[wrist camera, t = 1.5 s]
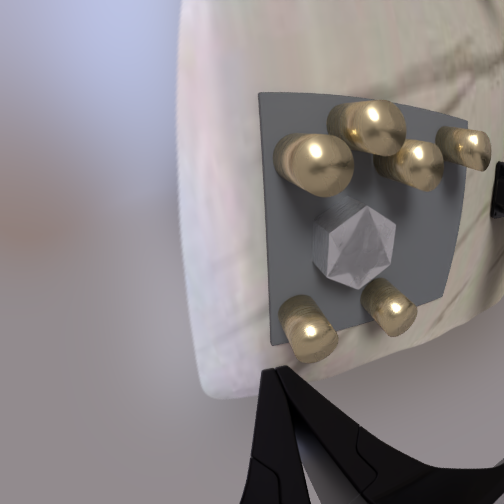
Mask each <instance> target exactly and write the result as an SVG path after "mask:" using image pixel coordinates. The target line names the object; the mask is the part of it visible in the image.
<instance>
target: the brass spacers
mask: <svg viewBox="0 0 504 504" xmlns="http://www.w3.org/2000/svg"><path fill="white" fill-rule="evenodd" d="M326 127H327V132H328V135H327V134H307V133H292V134H289V135H286V136H284V137H283V138H282V139H281V140H280V141H279V142H278V143H277V144H276V146H275V148H274V151H273V164H274V167H275V169H276V171H277V173H278V174H279V175H280V176H281V177H282V178H284V179H285V180H287V181H289V182H291V183H293V184H295V185H297V186H298V187H300V188H302V189H304V190H306V191H308V192H309V193H311V194H313V195H315V196H319V197H331V196H334V195H337V194H339V193H340V192H342V191H343V190H344V189H345V188H346V187H347V185H348V184H349V182H350V181H351V178H352V176H353V172H354V159H353V155H352V152H351V150H355V151H361V152H366V153H371V154H373V163H374V167H375V169H376V171H377V172H378V173H379V174H380V175H381V176H382V177H384V178H387V179H390V180H393V181H396V182H399V183H402V184H405V185H408V186H411V187H414V188H416V189H419V190H422V191H425V192H429V191H432V190H434V189H435V188H436V187H437V186H438V185H439V183H440V181H441V179H442V176H443V172H444V161H446V162H450V163H454V164H458V165H461V166H465V167H468V168H472V169H475V170H478V171H485V170H486V169H487V167H488V166H489V163H490V160H491V144H490V140H489V138H488V136H487V134H486V133H484V132H482V131H476V130H470V129H463V128H457V127H449V126H442V127H440V128H439V130H438V131H437V134H436V137H435V144H434V143H431V142H425V141H419V140H413V139H406V131H407V130H406V122H405V119H404V116H403V114H402V113H401V111H400V110H399V108H398V107H397V106H396V105H395V104H393V103H392V102H390V101H387V100H372V101H361V102H352V103H343V104H339V105H336V106H335V107H334V108H333V109H332V110H331V111H330V112H329V114H328V117H327V122H326ZM360 302H361V305H362V306H363V307H364V308H365V310H366V311H367V312H368V313H369V314H370V315H371V316H372V317H373V319H374V320H375V321H376V322H377V323H378V324H379V325H380V327H381V328H382V329H383V330H384V331H385V332H386V333H387V335H388V336H390V337H396V336H399V335H401V334H403V333H404V332H405V331H407V330H408V329H409V328H410V326H411V325H412V324H413V322H414V320H415V318H416V316H417V307H416V305H415V304H414V303H412V302H411V301H410V300H409V299H408V298H407V297H406V296H405V295H404V294H402V293H401V292H400V291H399V290H398V289H397V288H396V287H395V286H393V285H392V284H391V283H390V282H389V281H388V280H386V279H385V278H376V279H374V280H372V281H371V282H369V283H368V284H367V285H366V286H365V288H364V289H363V291H362V293H361V297H360ZM278 319H279V322H280V324H281V326H282V328H283V330H284V332H285V334H286V336H287V339H288V341H289V343H290V345H291V347H292V349H293V351H294V354H295V356H296V358H297V359H298V360H299V361H301V362H303V363H314V362H318V361H320V360H322V359H324V358H326V357H327V356H329V355H330V354H331V353H332V352H333V351H334V349H335V348H336V346H337V344H338V335H337V333H336V331H335V330H334V328H333V327H332V326H331V324H330V323H329V321H328V320H327V318H326V317H325V315H324V314H323V313H322V311H321V310H320V308H319V307H318V305H317V304H316V302H315V301H314V300H313V298H311V297H310V296H308V295H295V296H292V297H290V298H289V299H287V300H286V301H285V302H284V303H283V304H282V305H281V307H280V308H279V311H278Z"/></svg>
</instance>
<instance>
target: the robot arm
mask: <svg viewBox="0 0 504 504" xmlns="http://www.w3.org/2000/svg"><path fill="white" fill-rule="evenodd" d="M491 217H493V218H501V217H504V162H500V161H498V163H497V172H496V182H495V191H494V199H493V206H492V212H491ZM301 461H302V462H301ZM302 464H303V466H304V468H305V470H306V472H307V474H308V477H309V478H310V481H311V483H312V485H313V487H314V489H315V491H316V493H317V495H318V497H319V500H320V502H321V504H504V459H503V460H501V461H500V462H499V463H498V464H496V465H495V466H494V467H493V468H484V469H483V468H482V469H455V468H454V469H453V468H452V469H451V468H438V467H433V466H430V465H427V464H424V463H422V462H420V461H418V460H416V459H414V458H411V457H410V456H408V455H406V454H404V453H402V452H400V451H398V450H396V449H395V448H393V447H391V446H389V445H388V444H386V443H384V442H383V441H381V440H379V439H378V438H376V437H375V436H374V435H372V434H371V433H369V432H368V431H367V430H366V429H364V428H363V427H362V426H360V427H359V424H358V423H356V422H355V421H354V420H352V419H351V418H350V417H348V416H347V415H346V414H345V413H344V412H342V411H341V410H340V409H339V408H337V407H336V406H335V405H334V404H332V403H331V402H330V401H329V400H327V399H326V398H325V397H324V396H323V395H321V394H320V393H319V392H318V391H317V390H315V389H314V388H313V387H312V386H311V385H309V384H308V383H307V382H306V381H305V380H303V379H302V378H301V377H300V376H299V375H298V374H296V373H295V372H294V371H293V370H292V369H291V368H290V367H288V366H286V365H284V366H279V367H276V368H275V369H274V368H270V369H265V370H262V372H261V379H260V388H259V396H258V404H257V411H256V419H255V427H254V434H253V442H252V449H251V458H250V463H249V469H248V475H247V480H246V484H245V487H244V491H243V495H242V498H241V501H240V504H311V502H310V498H309V494H308V489H307V485H306V480H305V476H304V471H303V466H302Z"/></svg>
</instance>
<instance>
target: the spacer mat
mask: <svg viewBox="0 0 504 504" xmlns="http://www.w3.org/2000/svg"><path fill="white" fill-rule="evenodd" d="M258 100H259V115H260V131H261V147H262V164H263V182H264V201H265V220H266V241H267V264H268V288H269V314H270V342H271V345H272V346H274V345H279V344H284V343H288V342H289V341H288V339H287V336H286V334H285V332H284V330H283V328H282V326H281V324H280V322H279V319H278V311H279V308H280V307H281V305H282V304H283V303H284V302H285V301H286V300H287V299H289V298H290V297H292V296H295V295H308V296H310V297H311V298H313V300H314V301H315V302H316V304H317V305H318V307H319V308H320V310H321V311H322V313H323V314H324V315H325V317H326V318H327V320H328V321H329V323H330V324H331V326H332V327H333V328H334V330H335V331H338V330H342V329H345V328H349V327H353V326H356V325H360V324H363V323H367V322H370V321H373V320H374V319H373V317H372V316H371V315H370V314H369V313H368V312H367V311H366V310H365V308H364V307H363V306H362V305H361V302H360V297H361V293H362V291H363V289H364V288H365V286H366V285H367V284H368V283H369V282H371V281H372V280H374V279H376V278H385V279H386V280H388V281H389V282H390V283H391V284H392V285H393V286H395V287H396V288H397V289H398V290H399V291H400V292H401V293H402V294H404V295H405V296H406V297H407V298H408V299H409V300H410V301H411V302H412V303H414V304H415V305H416V306H419V305H422V304H424V303H427V302H430V301H433V300H435V299H438V298H440V297H442V296H443V293H444V289H445V286H446V282H447V279H448V275H449V271H450V267H451V263H452V259H453V255H454V250H455V246H456V241H457V236H458V231H459V225H460V219H461V213H462V206H463V198H464V190H465V180H466V167H465V166H461V165H458V164H454V163H450V162H446V161H444V172H443V176H442V179H441V181H440V183H439V185H438V186H437V187H436V188H435V189H434V190H432V191H429V192H425V191H422V190H419V189H416V188H414V187H411V186H408V185H405V184H402V183H399V182H396V181H393V180H390V179H387V178H384V177H382V176H381V175H380V174H379V173H378V172H377V171H376V169H375V167H374V163H373V154H371V153H366V152H361V151H355V150H351V152H352V155H353V159H354V172H353V176H352V178H351V181H350V182H349V184H348V185H347V187H346V188H345V189H344V190H343V191H342V192H340V193H339V194H337V195H334V196H331V197H319V196H315V195H313V194H311V193H309V192H308V191H306V190H304V189H302V188H300V187H298V186H297V185H295V184H293V183H291V182H289V181H287V180H285V179H284V178H282V177H281V176H280V175H279V174H278V173H277V171H276V169H275V167H274V164H273V151H274V148H275V146H276V144H277V143H278V142H279V141H280V140H281V139H282V138H283V137H284V136H286V135H289V134H292V133H307V134H327V135H328V132H327V127H326V122H327V117H328V114H329V112H330V111H331V110H332V109H333V108H334V107H335V106H336V105H339V104H343V103H352V102H361V101H372V100H374V99H367V98H359V97H351V96H341V95H330V94H315V93H291V92H260V93H258ZM393 104H395V105H396V106H397V107H398V108H399V110H400V111H401V113H402V114H403V116H404V119H405V122H406V130H407V131H406V139H413V140H419V141H425V142H431V143H434V144H435V137H436V134H437V131H438V130H439V128H440V127H442V126H449V127H457V128H463V129H468V121H466V120H463V119H460V118H456V117H453V116H449V115H446V114H442V113H438V112H434V111H430V110H426V109H422V108H417V107H413V106H408V105H403V104H398V103H393ZM346 196H349V197H351V198H353V199H355V200H357V201H359V202H361V203H363V204H365V205H367V206H369V207H370V208H372V209H373V210H375V211H376V212H378V213H379V214H381V215H383V216H384V217H386V218H387V219H389V220H390V221H391V222H393V223H394V224H396V229H395V237H394V244H393V251H392V258H391V264H390V265H389V266H388V267H387V268H386V269H384V270H383V271H382V272H381V273H379V274H378V275H377V276H375V277H374V278H373V279H372V280H370V281H369V282H368V283H366V284H365V285H364V286H363V287H361V288H360V289H359V290H358V289H355V288H353V287H350V286H347V285H345V284H342V283H340V282H337V281H334V280H332V279H329V278H327V277H326V276H325V275H324V274H323V273H322V272H321V270H320V269H319V268H318V267H317V266H316V265H315V264H314V263H313V261H312V242H313V220H314V219H316V218H317V217H318V216H320V215H321V214H323V213H324V212H325V211H327V210H328V209H330V208H331V207H332V206H334V205H335V204H337V203H338V202H339V201H341V200H342V199H344V198H345V197H346Z"/></svg>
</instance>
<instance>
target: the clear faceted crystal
mask: <svg viewBox="0 0 504 504" xmlns="http://www.w3.org/2000/svg"><path fill="white" fill-rule="evenodd" d="M395 229H396V224H394V223H393V222H391V221H390V220H389V219H387V218H386V217H384V216H383V215H381V214H379V213H378V212H376V211H375V210H373V209H372V208H370V207H369V206H367V205H365V204H363V203H361V202H359V201H357V200H355V199H353V198H351V197H349V196H346V197H345V198H344V199H342V200H341V201H339V202H338V203H337V204H335V205H334V206H332V207H331V208H330V209H328V210H327V211H325V212H324V213H323V214H321V215H320V216H318V217H317V218H316V219H314V220H313V242H312V261H313V263H314V264H315V265H316V266H317V267H318V268H319V269H320V270H321V272H322V273H323V274H324V275H325V276H326V277H327V278H329V279H332V280H334V281H337V282H340V283H342V284H345V285H347V286H350V287H353V288H355V289H358V290H359V289H360V288H361V287H363V286H364V285H365V284H366V283H368V282H369V281H370V280H372V279H373V278H374V277H375V276H377V275H378V274H379V273H381V272H382V271H383V270H384V269H386V268H387V267H388V266H389V265H390V264H391V258H392V251H393V244H394V237H395Z"/></svg>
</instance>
